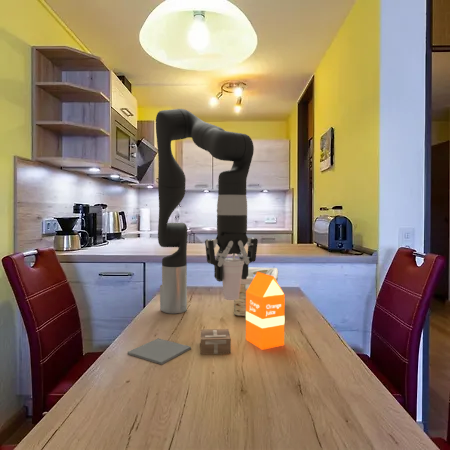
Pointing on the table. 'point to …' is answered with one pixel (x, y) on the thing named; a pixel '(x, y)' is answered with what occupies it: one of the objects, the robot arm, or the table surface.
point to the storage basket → (245, 283)
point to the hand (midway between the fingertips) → (231, 279)
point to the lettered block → (215, 341)
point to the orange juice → (265, 312)
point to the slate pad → (159, 351)
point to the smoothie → (232, 277)
